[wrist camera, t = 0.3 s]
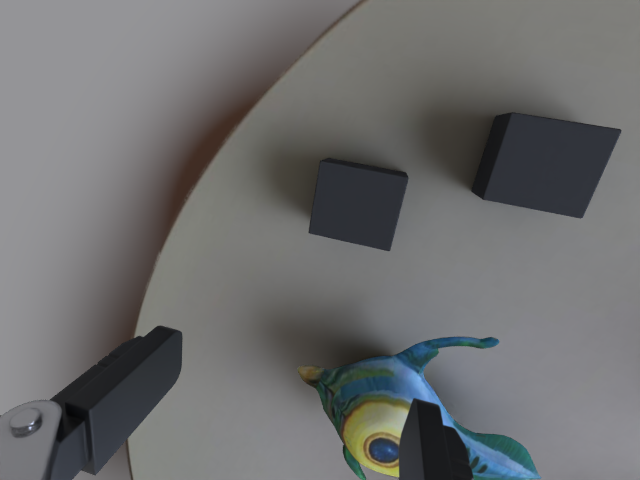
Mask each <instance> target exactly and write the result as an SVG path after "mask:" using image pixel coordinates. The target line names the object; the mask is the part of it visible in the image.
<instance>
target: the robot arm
mask: <svg viewBox="0 0 640 480" xmlns="http://www.w3.org/2000/svg"><path fill="white" fill-rule="evenodd" d="M181 366H182V332H181V331H178V330H175V329H171V328H168V327H164V326H157V327H156V328H154V329H153V330H152V331H151V332H149V333H148V334H147V335H146V336H144V337H141V336H138V337H136V338H133V339H131V340H129V341H127V342H125V343H122V344H121V345H120V346H118V347H117V348H116V349H115V350H113V351H112V352H111V353H110V354H109V355H108V356H105V357H104V358H103V359H102V360H100V361H99V362H98V364H97V365H94V366H93V367H91V368H90V369H89V370H88V371H87V372H85V373H84V374H82V375H81V376H80V377H79V378H77V379H76V380H75V381H73V382H72V383H71V384H69V385H68V386H67V387H66V388H64V389H63V390H62V391H60V392H59V393H58V394H57V395H55V396H54V397H53V398H52V399H50V400H38V401H31V402H28V403H24V404H22V405H19V406H17V407H15V408H13V409H11V410H9V411H8V412H6V413H4V414H3V415H1V416H0V480H72V479H73V478H74V477H75V476H76V475H77V474H78V473H79V472H80V471H81V470H82V471H85V472H87V473H90V474H93V475H96V474H97V473H98V472H99V471H100V470H101V468H102V467H103V466H104V465H105V464H106V463H107V461H108V460H109V459H110V458H111V457H112V456H113V454H114V453H115V452H116V451H117V450H118V449H119V448H120V446H121V445H122V444H123V443H124V442H125V441H126V440H127V438H128V437H129V436H130V435H131V434H132V433H133V431H134V430H135V429H136V428H137V427H138V426H139V425H140V423H141V422H142V421H143V420H144V419H145V418H146V416H147V415H148V414H149V413H150V412H151V411H152V410H153V408H154V407H155V406H156V405H157V404H158V403H159V401H160V400H161V399H162V398H163V397H164V396H165V395H166V393H167V392H168V391H169V390H170V389H171V388H172V386H173V385H174V384H175V382H176V381H177V379H178V377H179V374H180V371H181ZM399 480H474V477H473V473H472V469H471V467H470V461H469V457H468V453H467V449H466V445H465V444H464V442H463V440H462V439H461V437H460V436H459V434H458V432H457V431H456V429H455V428H453V427H449V426H446V425H443V420H442V415H441V409H440V406H439V405H438V404H435V403H431V402H428V401H424V400H421V399H417V398H414V399H413V401H412V403H411V406H410V409H409V412H408V415H407V418H406V421H405V424H404V427H403V430H402V433H401V437H400V443H399Z"/></svg>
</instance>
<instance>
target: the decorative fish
mask: <svg viewBox="0 0 640 480" xmlns="http://www.w3.org/2000/svg"><path fill="white" fill-rule="evenodd" d="M498 343H499V340H498V339H496V338H493V337H489V338H484V339H477V338H472V337H448V338H439V339H433V340H428V341H424V342H421V343H418V344H415V345H413V346H411V347H410V348H408V349H406V350H404V351H403V352H401V353H399V354H397V355H394V356H379V357H373V358H369V359H365V360H362V361H359V362H357V363H353V364H348V365H344V366H341V367H338V368H334V369H329V370H328V369H323V368H321V367H318V366H314V365H304V366H300V367H299V368H298V373H299V375H300V377H301V378H302V380H303V381H304V382H305V383H307V384H308V385H310V386H312V387H314V388H316V390H317V391H318V393H319V395H320V398H321V402H322V405H323V409H324V411H325V413H326V414H327V416H328V417H329V419H330V420H331V422H332V423H333V425H334V426H335V428H336V431H337V433H338V435H339V437H340V438H341V440H342V442H343V443H344V445H343V454H344V458H345V460H346V462H347V464H348V465H349V467H350V468H351V469H352V470H353V472H354V473H355V474H356V475H357V476H358V477H359V478H360V479H362V480H366V477H365V475H364V473H363V471H362V469H361V467H360V465H359V463H361V464H362V465H364V466H366V467H367V468H370V469H372V470H374V471H377V472H380V473H383V474H387V475H391V476H396V477H399V443H400V437H401V433H402V430H403V427H404V424H405V421H406V418H407V415H408V412H409V409H410V406H411V403H412V401H413V399H414V398H417V399H421V400H424V401H428V402H431V403H435V404H438V405H439V406H440V409H441V415H442V420H443V425H446V426H449V427H453V428H455V429H456V431H457V432H458V434H459V436H460V437H461V439H462V440H463V442H464V444H465V445H466V449H467V453H468V457H469V461H470V467H471V469H472V473H473V477H474V480H531V479H541V477H540V476H539V474H538V472H537V470H536V468H535V466H534V463H533V461H532V459H531V456H530V455H529V453H528V451H527V449H526V448H525V447H524V446H522V445H521V444H520V443H518V442H517V441H515V440H513V439H512V438H509V437H507V436H503V435H496V434H480V433H474V432H471V431H469V430H467V429H465V428H463V427H462V426H461V425H459V424H458V423H457V422H456V421H454V420H453V418H452V417H451V416H450V415H449V414H448V412H447V411H446V409H445V408H444V406H443V405H442V403H441V402H440V400H439V398H438V396H437V395H436V393H435V392H434V390H433V389H432V387H431V386H430V385H429V383H428V382H427V381H426V380H425V378H424V374H423V371H424V368H425V366H426V365H427V364H428V362H429V361H430V360H431V359H432V358H434V357H435V356H437V354H438V353H439V351H438V348H442V347H449V346H470V347H476V348H490V347H493V346H496V345H497V344H498Z"/></svg>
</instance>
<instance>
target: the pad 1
mask: <svg viewBox="0 0 640 480" xmlns="http://www.w3.org/2000/svg"><path fill="white" fill-rule="evenodd" d="M407 182H408V176H407V174H406V172H400V171H395V170H390V169H384V168H379V167H374V166H369V165H363V164H358V163H353V162H347V161H342V160H337V159H332V158H327V159H324V160H321V161H320V165H319V172H318V178H317V184H316V190H315V196H314V202H313V209H312V215H311V221H310V227H309V233H310V234H315V235H319V236H324V237H328V238H333V239H337V240H341V241H346V242H350V243H355V244H359V245H364V246H368V247H373V248H377V249H382V250H386V251H390V249H391V245H392V241H393V237H394V233H395V229H396V225H397V221H398V217H399V213H400V209H401V205H402V202H403V198H404V194H405V190H406V186H407Z"/></svg>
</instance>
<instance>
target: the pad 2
mask: <svg viewBox="0 0 640 480" xmlns="http://www.w3.org/2000/svg"><path fill="white" fill-rule="evenodd" d="M620 133H621V130H620V129H615V128H608V127H602V126H596V125H589V124H583V123H577V122H570V121H564V120H558V119H551V118H545V117H539V116H532V115H526V114H520V113H513V112H512V113H507V114H502V115H496V116H495V119H494V122H493V125H492V128H491V131H490V135H489V138H488V141H487V144H486V147H485V150H484V153H483V156H482V159H481V163H480V166H479V169H478V172H477V175H476V178H475V181H474V184H473V187H472V192H473V193H474V194H476V195H477V196H479V197H480V198H482V199H484V200H489V201H494V202H499V203H504V204H509V205H515V206H520V207H525V208H530V209H535V210H540V211H545V212H551V213H556V214H561V215H566V216H571V217H576V218H583V216H584V214H585V211H586V209H587V207H588V205H589V202H590V200H591V198H592V196H593V194H594V191H595V189H596V187H597V185H598V182H599V180H600V178H601V176H602V173H603V171H604V169H605V167H606V165H607V162H608V160H609V158H610V156H611V153H612V151H613V149H614V147H615V144H616V142H617V140H618V138H619V136H620Z"/></svg>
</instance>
